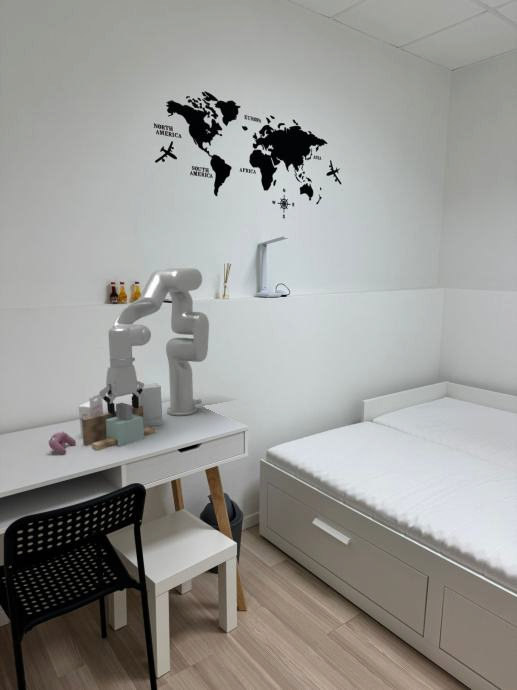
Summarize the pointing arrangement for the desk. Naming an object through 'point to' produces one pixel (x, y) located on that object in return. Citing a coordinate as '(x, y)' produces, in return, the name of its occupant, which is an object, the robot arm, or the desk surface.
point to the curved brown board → (97, 429)
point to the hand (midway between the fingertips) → (123, 410)
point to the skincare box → (151, 404)
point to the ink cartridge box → (90, 409)
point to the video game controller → (61, 442)
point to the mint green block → (125, 425)
